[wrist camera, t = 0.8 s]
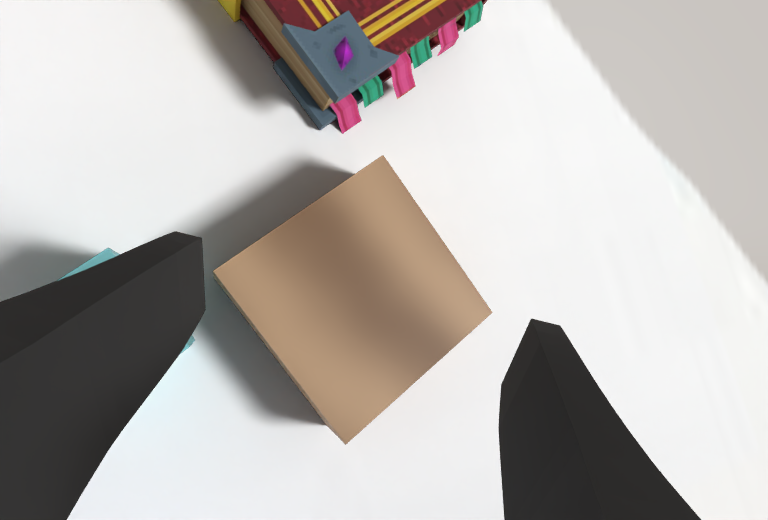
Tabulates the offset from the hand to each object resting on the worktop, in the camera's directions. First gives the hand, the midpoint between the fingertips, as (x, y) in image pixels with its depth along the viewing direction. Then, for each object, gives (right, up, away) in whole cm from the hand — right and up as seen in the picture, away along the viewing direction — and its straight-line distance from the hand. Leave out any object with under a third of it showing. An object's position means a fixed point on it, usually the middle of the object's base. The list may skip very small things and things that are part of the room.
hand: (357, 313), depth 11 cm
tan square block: (-1, -1, +15) cm, 15 cm away
